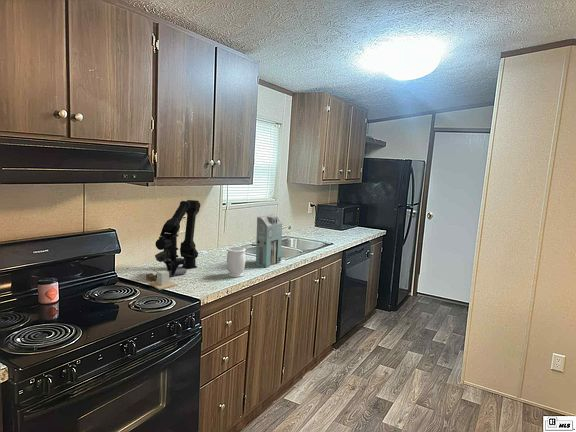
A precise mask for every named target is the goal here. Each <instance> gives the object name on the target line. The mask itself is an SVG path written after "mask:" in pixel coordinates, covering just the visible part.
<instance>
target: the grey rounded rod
mask: <svg viewBox="0 0 576 432" xmlns="http://www.w3.org/2000/svg"><path fill="white" fill-rule="evenodd" d="M187 270H188V269H186V268H184V267H182V268H180V269H178V268H177V270H176V272H175V274H174V275H172V273H171V271H168V270H166V271H167V272H169V278H170V277H175V276H181V275H185V274H187ZM155 275H156V279H157V273H156V274H155Z"/></svg>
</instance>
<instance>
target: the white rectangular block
mask: <svg viewBox="0 0 576 432" xmlns="http://www.w3.org/2000/svg"><path fill="white" fill-rule="evenodd" d="M167 271H168V270H160V271H159V270H158V271H156V274H157V278H156V281H157V283H158V284H160V285H167V284H169V280H170V277H169V272H167Z"/></svg>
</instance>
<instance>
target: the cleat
mask: <svg viewBox="0 0 576 432" xmlns="http://www.w3.org/2000/svg"><path fill="white" fill-rule="evenodd" d="M145 278H146V279H145V280H146V281H148V282H153V281H157V278H156V274H154V273H152V272H151V273H150V272H149V273H146V274H145Z"/></svg>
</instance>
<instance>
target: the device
mask: <svg viewBox="0 0 576 432" xmlns="http://www.w3.org/2000/svg"><path fill="white" fill-rule="evenodd" d="M282 234H283V222H282V220H281V219H280V217H279V216H278V215H276V214H273V213H272V214H266V215H261V216H257V217H256V242H255V243H256V244H255V245H256V249H255V251H256V252H255V266H256V267H260V268H265V269H266V268H269V267H271V266H274V265H277V264H278V263H281V262H282V240H283V239H282V236H283V235H282Z"/></svg>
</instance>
